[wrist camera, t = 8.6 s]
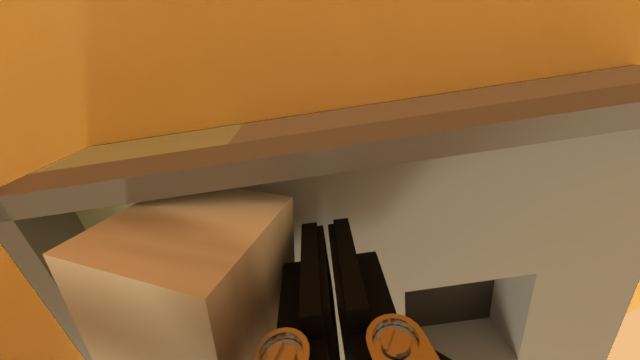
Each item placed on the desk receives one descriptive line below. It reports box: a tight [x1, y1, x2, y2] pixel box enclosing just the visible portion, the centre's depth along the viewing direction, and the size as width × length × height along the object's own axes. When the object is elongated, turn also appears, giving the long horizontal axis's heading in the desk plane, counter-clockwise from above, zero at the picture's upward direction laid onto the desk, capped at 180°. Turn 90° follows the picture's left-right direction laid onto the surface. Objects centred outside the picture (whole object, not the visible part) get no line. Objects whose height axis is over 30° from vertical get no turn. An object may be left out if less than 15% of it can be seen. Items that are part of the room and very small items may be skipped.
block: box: [43, 188, 295, 360], centre depth 9 cm, size 4×4×4 cm
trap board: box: [0, 65, 640, 360], centre depth 14 cm, size 16×24×5 cm, turn 98°
